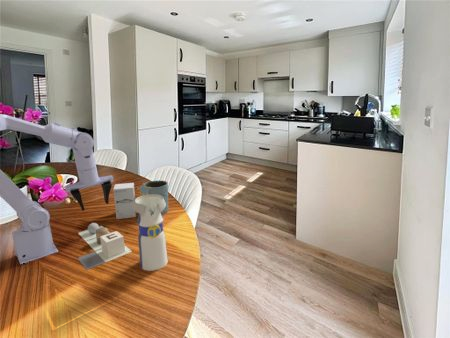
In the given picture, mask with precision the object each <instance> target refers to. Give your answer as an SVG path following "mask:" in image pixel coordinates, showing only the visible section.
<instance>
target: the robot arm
mask: <svg viewBox="0 0 450 338" xmlns="http://www.w3.org/2000/svg"><path fill="white" fill-rule="evenodd" d="M61 125H62V124H61V123H59V122H54V123H48V124H46V125H45V124H44V125H42V124H38V123H35V122H31V121H27V120H25V119H22V118H18V117H14V116H11V115H8V114H4V113H3V114H2V113H0V132H1V131H4V130H5V131H7V130H12V131H17V132H22V133H25V134H30V135H35V136H39V137H41V139H42V141H44V142H45V143H48V144H51V145H52V144H53V145H57V146H61V147H63V148H64V147H65V148H71V149H72V153H73V158H74V163H75V166H76V170H77V176H78V179H79V181H77V182H75V183H71V184H67V185H64V189H65V192H66V194H69V193H70V194H71V196H72V197H73V198H74V199H75V201H76V202H77V203H78V205H79V207H80V209H81V211H82V212H84V211H85V210H86V209H85V206H84V203H83V198H82V194H81V192H80V190H83V189H86V188H92V187H95V186H99V185H101V188H102V192H103V197H104V202H105V204H106V205H108V204H110V203H109V200H110V199H109V197H110V193H111V189H112V186H113V185H112V183H114V182H115V181H114V177H113V175H106V176H99V174H98V169H97V163H96V160H95V155H94V150H93V147H94V146H95V140H94V138H93V137H92V136H91V135H90V134H89V133H87V132H82V131H79V130H78V129H77V128H72V129H71V128H69V127H65V126H61ZM0 198H1V199H2V200H4V201H5V203H6V204H8V205H9V207H11V208H12V209H13V210H14V211H15V212H16V216H17V217H18V219H19V220H20V221H21V224H20V226H19V229H16V230H14V231H11V236H12V240H13V244H14V249H15V250H14V254H15V257H17V259H18V262H19V264H20V265H21V264H22V265H24V264H23V263H25V264H27V263H29V261H30V262H32V261H35V260H39V259H42V258H44V257H47V256H49V255H53V254H56V253H58V252H59V250H58V248H57V247H56V245H55V244H54V241H53V240H54V239H53V235H52V229H51V224H50V217H51V216H50V212H49V211H48V210H47V209H46V208H43V207H42V206H41V204H40V203H38V202H37V201H35V200H32V199H30V198H29V197H28V196H27V195H26V194H25V193H24V192H23V190H22V189H20V188H19V187H18V186H17V185H16V184H15V182H14V181H12V180H11V179H10V177H8V175H6V173H5V172H3V170H1V169H0Z"/></svg>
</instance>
